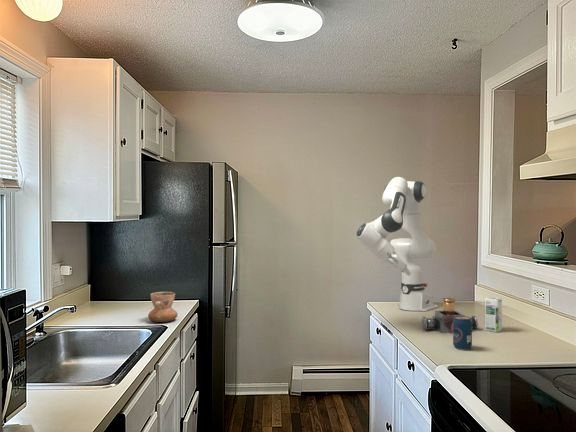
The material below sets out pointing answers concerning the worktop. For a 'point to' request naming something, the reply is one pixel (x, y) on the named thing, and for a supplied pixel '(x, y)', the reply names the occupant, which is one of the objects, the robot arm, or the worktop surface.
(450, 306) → the copper flared cylinder
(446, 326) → the valve body
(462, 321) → the soda can
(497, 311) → the syrup box
